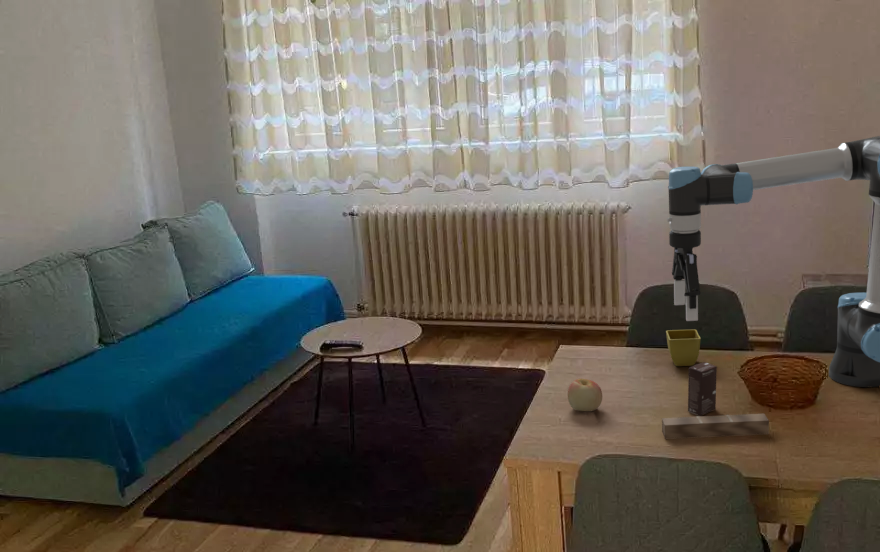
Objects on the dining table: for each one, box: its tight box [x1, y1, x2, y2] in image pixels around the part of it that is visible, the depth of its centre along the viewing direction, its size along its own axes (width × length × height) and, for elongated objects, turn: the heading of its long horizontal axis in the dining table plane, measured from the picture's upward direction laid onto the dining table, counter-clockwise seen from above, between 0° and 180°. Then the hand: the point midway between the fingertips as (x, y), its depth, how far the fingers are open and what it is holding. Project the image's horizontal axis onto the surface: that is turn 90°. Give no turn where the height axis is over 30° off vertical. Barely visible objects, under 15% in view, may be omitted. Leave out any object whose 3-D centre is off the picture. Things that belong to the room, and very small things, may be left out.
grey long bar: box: [661, 413, 770, 440], centre depth 206 cm, size 24×4×4 cm, turn 86°
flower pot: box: [665, 329, 702, 367], centre depth 250 cm, size 9×9×9 cm
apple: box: [567, 378, 603, 412], centre depth 224 cm, size 9×9×8 cm
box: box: [687, 361, 718, 417], centre depth 217 cm, size 6×4×12 cm
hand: (685, 312), depth 219 cm, fingers open, 13 cm apart
